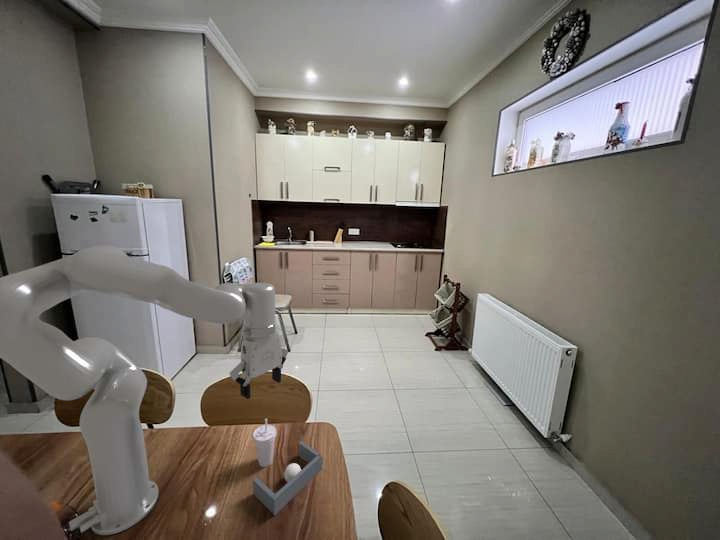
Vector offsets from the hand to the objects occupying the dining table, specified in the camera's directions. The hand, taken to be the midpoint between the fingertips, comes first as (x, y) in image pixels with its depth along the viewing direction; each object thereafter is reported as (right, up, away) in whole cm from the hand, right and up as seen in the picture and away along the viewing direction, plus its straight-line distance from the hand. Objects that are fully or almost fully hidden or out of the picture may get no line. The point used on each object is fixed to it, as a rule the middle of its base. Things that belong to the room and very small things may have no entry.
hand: (262, 388), depth 78 cm
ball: (+9, -22, -2) cm, 24 cm away
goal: (+8, -24, -2) cm, 26 cm away
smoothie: (0, -23, +4) cm, 24 cm away
